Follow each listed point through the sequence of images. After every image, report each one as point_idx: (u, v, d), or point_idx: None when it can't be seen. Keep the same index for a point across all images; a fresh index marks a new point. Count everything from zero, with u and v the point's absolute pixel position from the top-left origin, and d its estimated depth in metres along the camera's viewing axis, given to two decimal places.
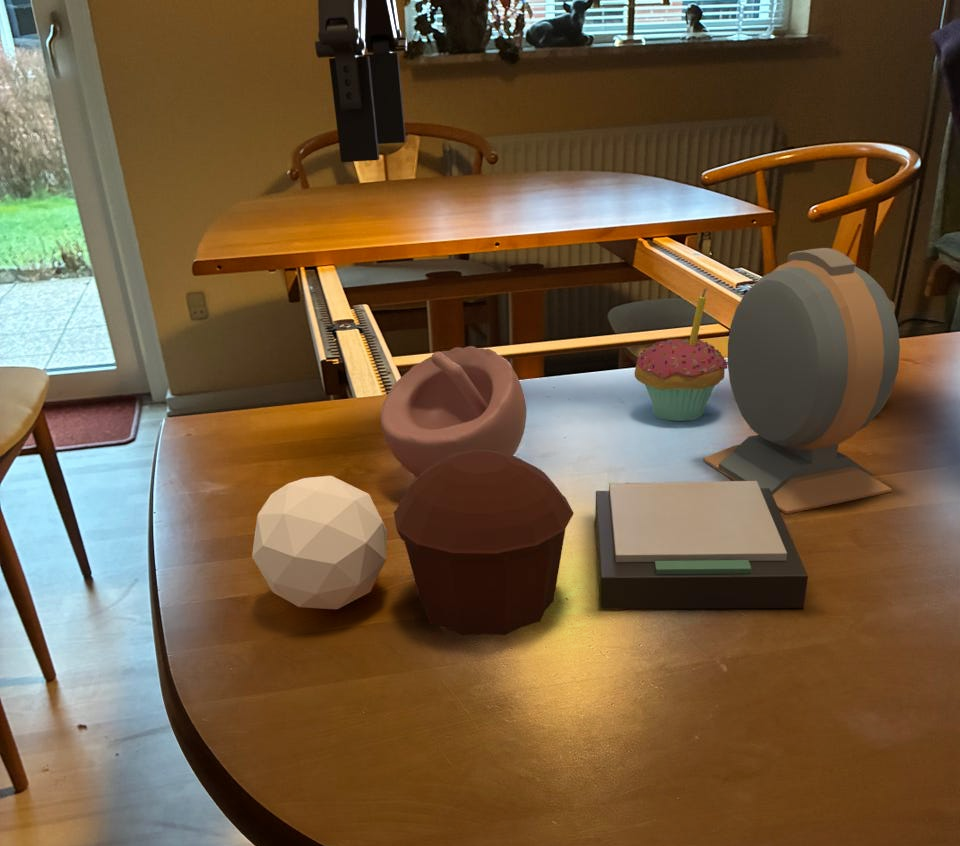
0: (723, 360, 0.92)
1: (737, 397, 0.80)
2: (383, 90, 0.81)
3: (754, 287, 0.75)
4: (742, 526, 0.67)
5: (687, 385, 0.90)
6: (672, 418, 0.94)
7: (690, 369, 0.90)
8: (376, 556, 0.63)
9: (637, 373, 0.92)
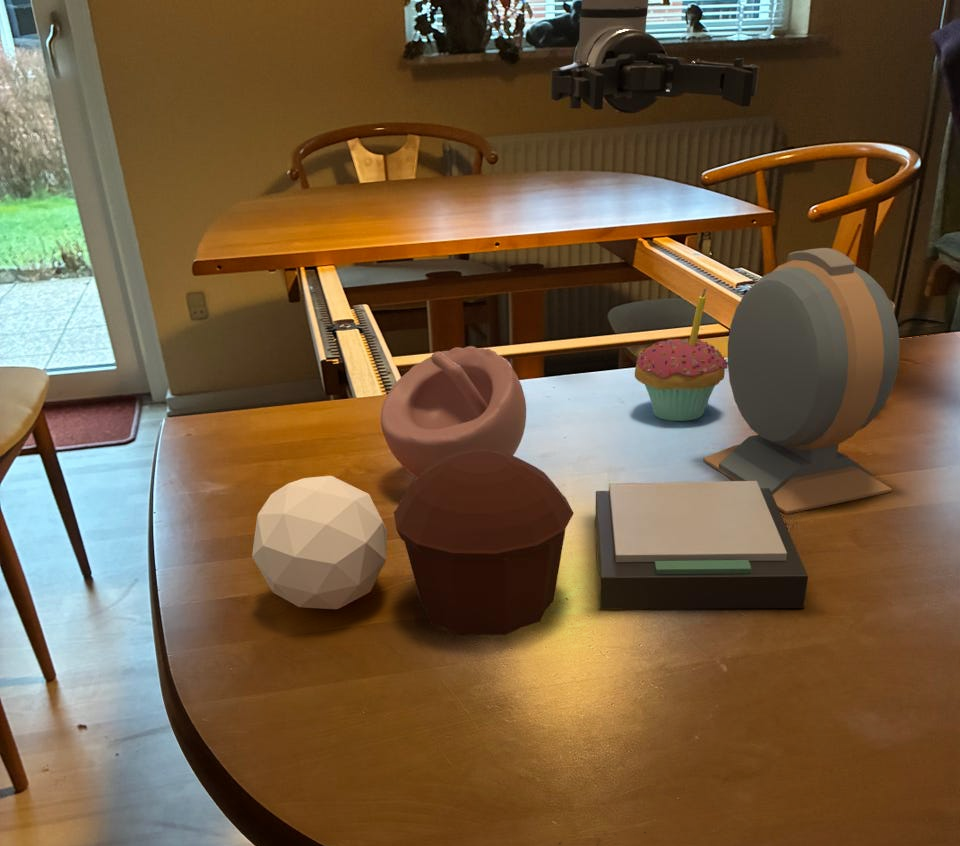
0: (723, 360, 0.92)
1: (737, 397, 0.80)
2: (731, 85, 0.92)
3: (754, 287, 0.75)
4: (742, 526, 0.67)
5: (687, 385, 0.90)
6: (672, 418, 0.94)
7: (690, 369, 0.90)
8: (376, 556, 0.63)
9: (637, 373, 0.92)
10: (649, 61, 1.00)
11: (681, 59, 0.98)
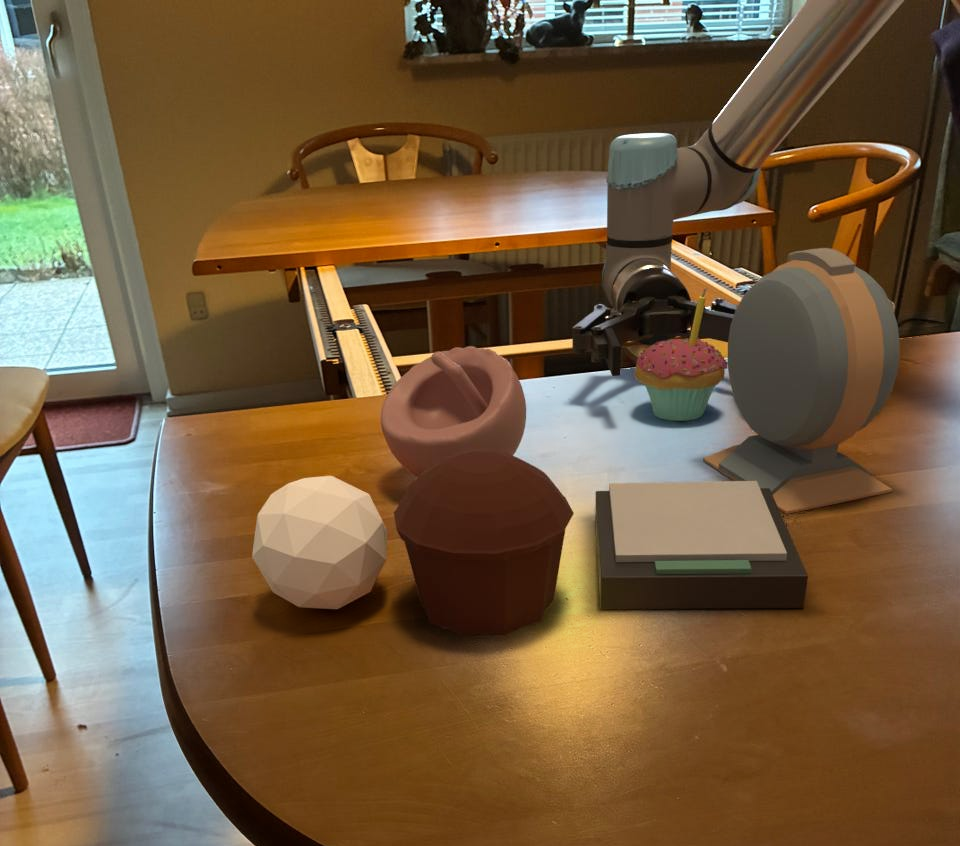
0: (723, 360, 0.92)
1: (737, 397, 0.80)
2: None
3: (754, 287, 0.75)
4: (742, 526, 0.67)
5: (687, 385, 0.90)
6: (672, 418, 0.94)
7: (690, 369, 0.90)
8: (376, 556, 0.63)
9: (637, 373, 0.92)
10: (669, 304, 1.01)
11: None
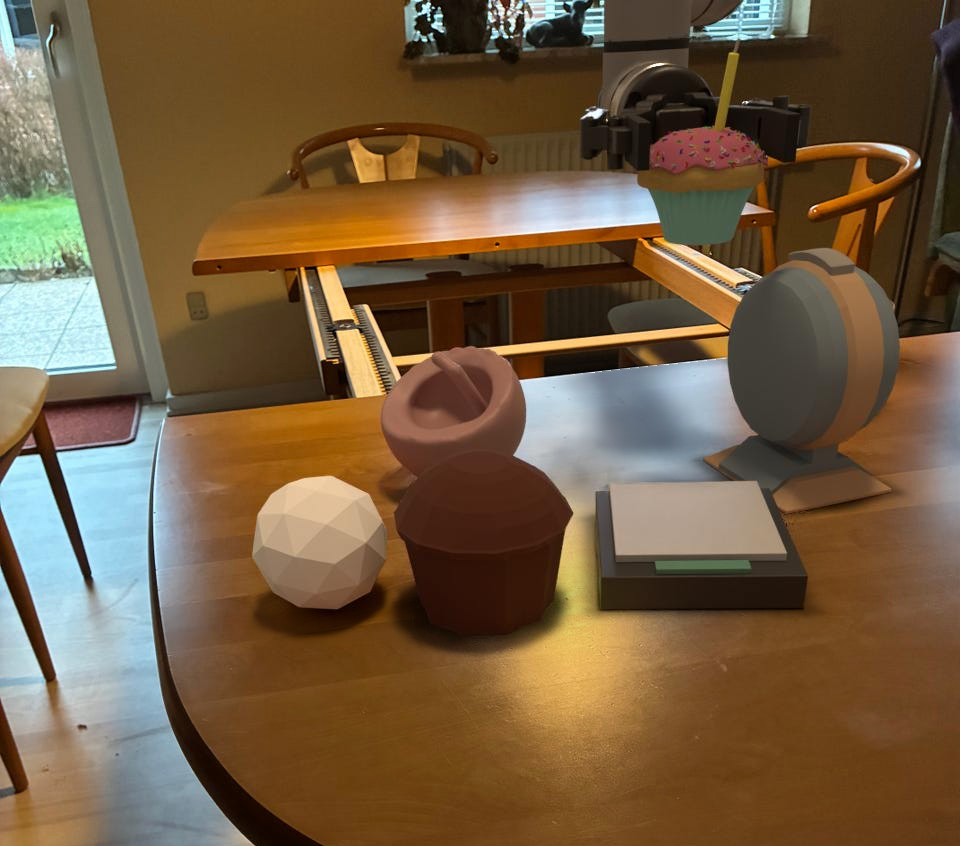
0: (762, 153, 0.65)
1: (737, 397, 0.80)
2: (770, 133, 0.65)
3: (754, 287, 0.75)
4: (742, 526, 0.67)
5: (711, 184, 0.63)
6: (689, 241, 0.67)
7: (716, 159, 0.63)
8: (376, 556, 0.63)
9: (640, 175, 0.66)
10: (686, 103, 0.74)
11: None
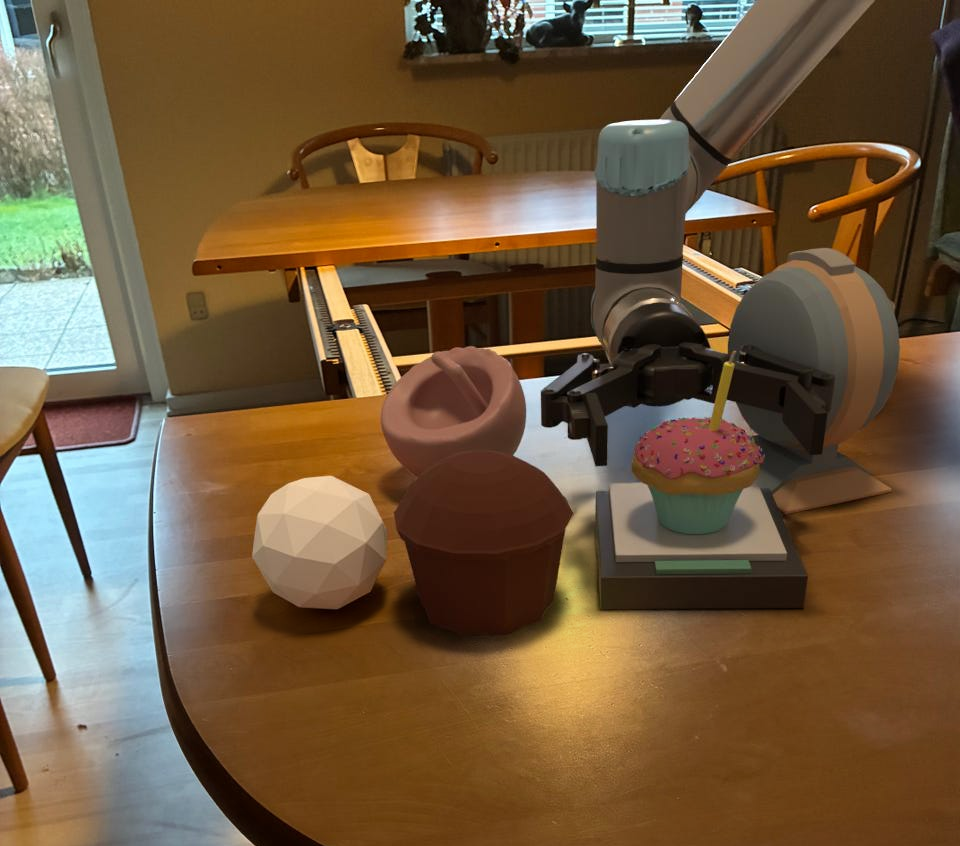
0: (758, 451, 0.64)
1: None
2: (795, 414, 0.65)
3: (754, 287, 0.75)
4: (742, 526, 0.67)
5: (707, 489, 0.62)
6: (684, 530, 0.66)
7: (711, 467, 0.62)
8: (376, 556, 0.63)
9: (635, 469, 0.65)
10: (681, 355, 0.73)
11: (725, 357, 0.71)
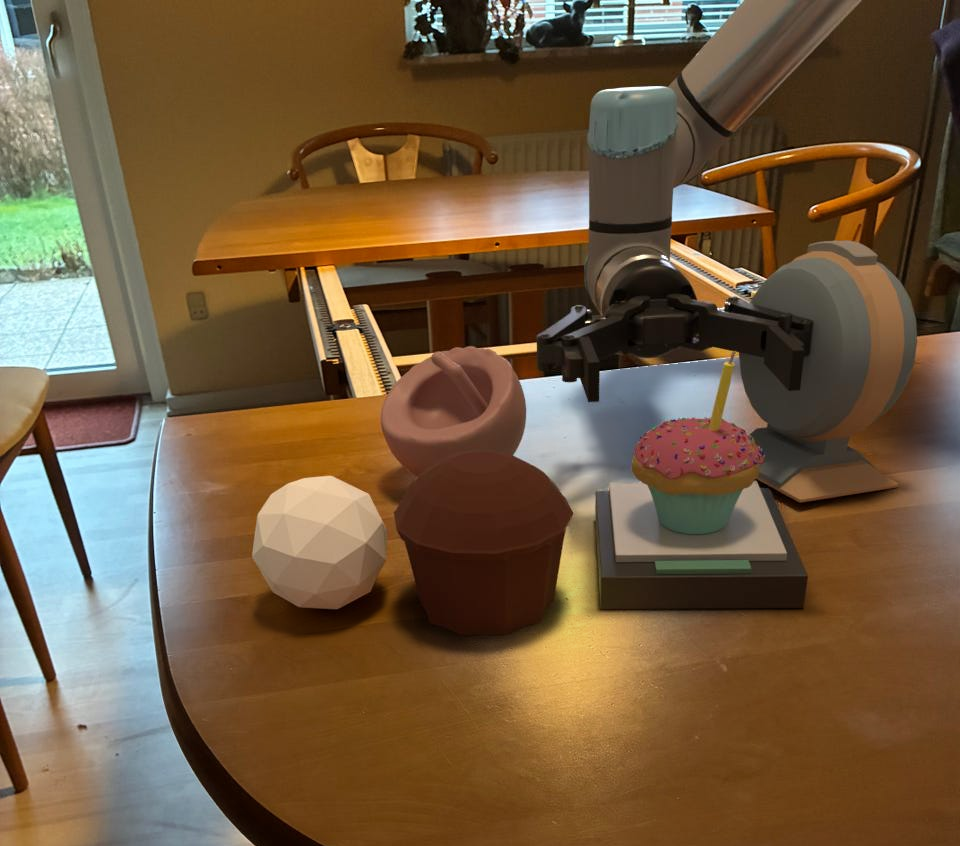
0: (758, 451, 0.64)
1: (748, 387, 0.80)
2: (775, 354, 0.69)
3: (774, 276, 0.75)
4: (742, 526, 0.67)
5: (707, 489, 0.62)
6: (684, 530, 0.66)
7: (711, 467, 0.62)
8: (376, 556, 0.63)
9: (635, 469, 0.65)
10: (669, 305, 0.77)
11: (710, 306, 0.75)
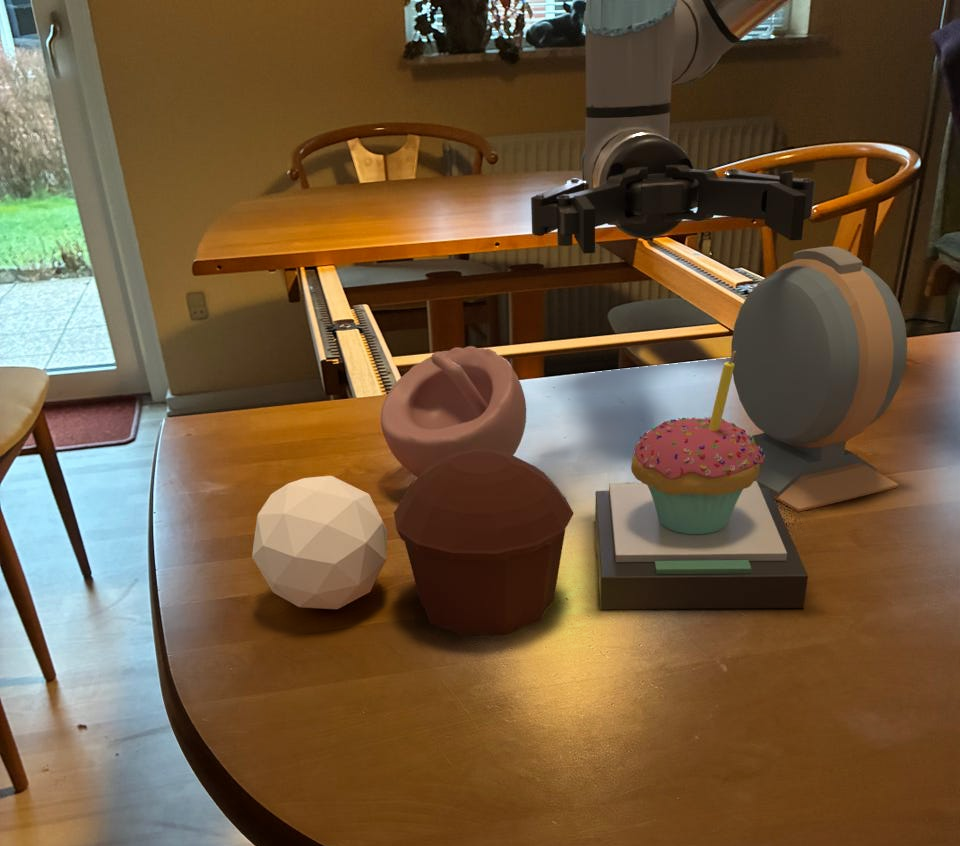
0: (758, 451, 0.64)
1: (742, 396, 0.80)
2: (776, 209, 0.67)
3: (760, 286, 0.75)
4: (742, 526, 0.67)
5: (707, 489, 0.62)
6: (684, 530, 0.66)
7: (711, 467, 0.62)
8: (376, 556, 0.63)
9: (635, 469, 0.65)
10: (667, 175, 0.75)
11: (709, 172, 0.73)
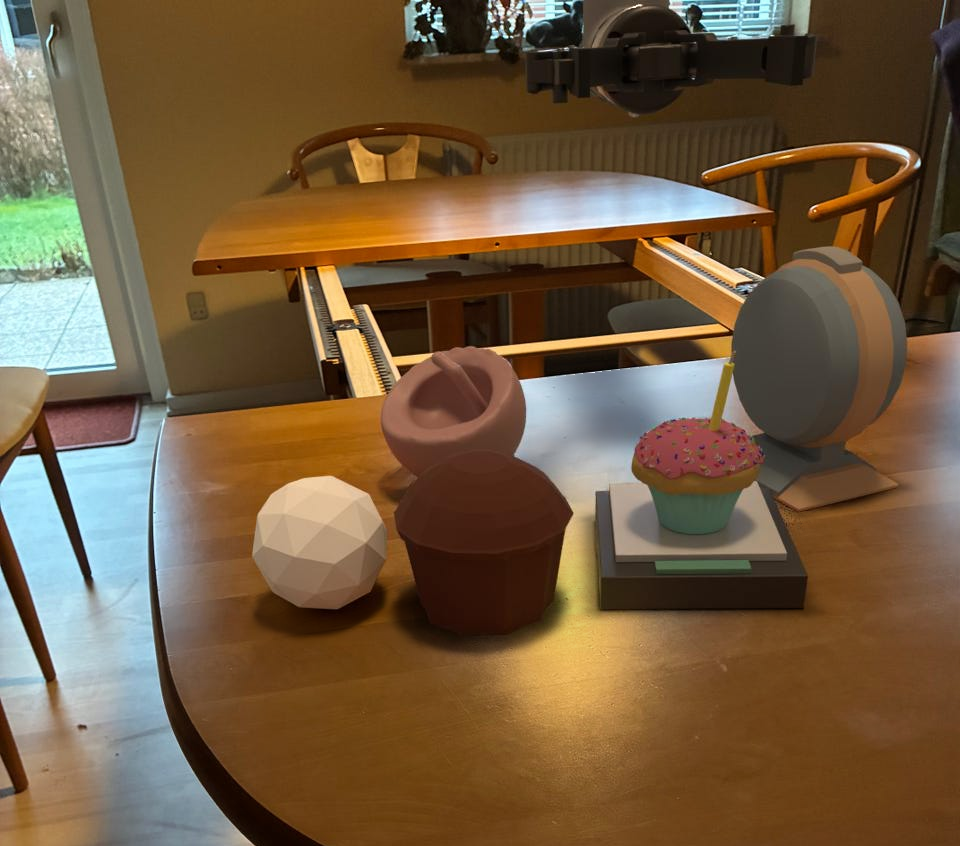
0: (758, 451, 0.64)
1: (742, 396, 0.80)
2: (776, 59, 0.65)
3: (760, 286, 0.75)
4: (742, 526, 0.67)
5: (707, 489, 0.62)
6: (684, 530, 0.66)
7: (711, 467, 0.62)
8: (376, 556, 0.63)
9: (635, 469, 0.65)
10: (666, 41, 0.74)
11: (708, 34, 0.71)
